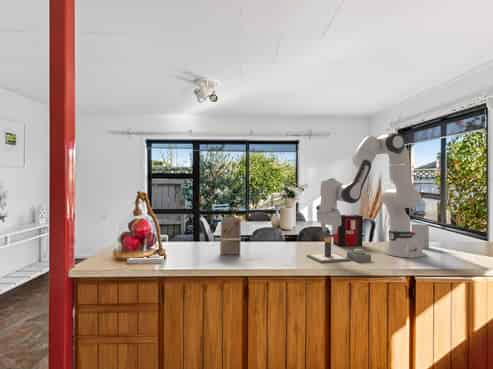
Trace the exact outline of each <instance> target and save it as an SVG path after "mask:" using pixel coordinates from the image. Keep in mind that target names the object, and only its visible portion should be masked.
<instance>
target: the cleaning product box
mask: <svg viewBox="0 0 493 369" xmlns="http://www.w3.org/2000/svg"><path fill="white" fill-rule="evenodd" d="M332 236H333V237H332V240H333V241H332V244H333V246H336V247H338V248H344V247H363V215H360V214H341V226H338V227H337V229H336V234H332Z"/></svg>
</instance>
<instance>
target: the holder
mask: <svg viewBox="0 0 493 369" xmlns="http://www.w3.org/2000/svg"><path fill="white" fill-rule="evenodd" d="M128 258H129V257H128ZM128 258H127V259H126V264H127V263H132V265H133V263H139V264H163V263H164V261H165V260H164V256H159V255H158V254H157V255H152V256H150V257H149V258H147V257H144V258H129V259H128Z"/></svg>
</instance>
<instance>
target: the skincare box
mask: <svg viewBox="0 0 493 369" xmlns="http://www.w3.org/2000/svg"><path fill="white" fill-rule="evenodd" d="M411 232H416V235H412V236H413V238H414V239H415V240H416V241H417V242H419V243H420V244H421V246H422V250H423V249H424V250H425V249H429V248H430V232H429V223H423V222H420V223H419V222H415V223H411Z"/></svg>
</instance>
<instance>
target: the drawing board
mask: <svg viewBox="0 0 493 369" xmlns="http://www.w3.org/2000/svg"><path fill="white" fill-rule="evenodd" d="M306 257H307V258H309V259H311V260H313V261H315V262H318V263H320V264H326V263H327V264H328V263H339V262H341V263H342V262H351V260H350V259H349V258H347V256H344V255H341V254H338V253H335V252H331V257H325V253H316V254H315V253H314V254H306Z"/></svg>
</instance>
